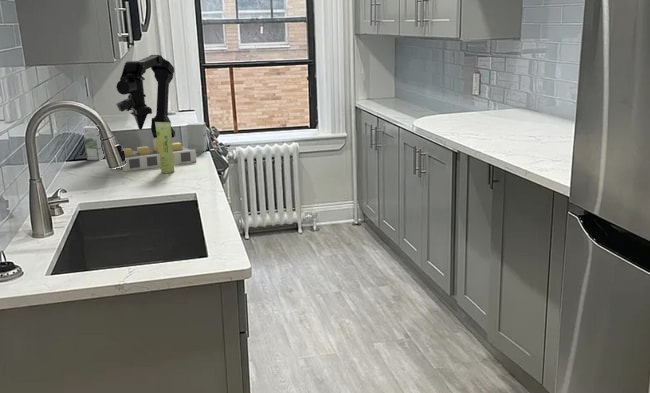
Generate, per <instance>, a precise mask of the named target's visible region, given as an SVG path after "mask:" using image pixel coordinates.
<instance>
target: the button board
mask: <svg viewBox="0 0 650 393" xmlns="http://www.w3.org/2000/svg"><path fill="white" fill-rule="evenodd" d="M149 150H150V154H143V155H139V154H138V152H137V150H132V152H133V156H126V158H129V157H137V156H146V155H154V154H159V153H155V152H154V148H149ZM187 150H190V149H188V147H186V146H183V145H182V150H176V151H173V152H178V151H187ZM120 170H123V167H121V169H120Z"/></svg>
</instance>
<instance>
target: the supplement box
mask: <svg viewBox="0 0 650 393" xmlns="http://www.w3.org/2000/svg"><path fill="white" fill-rule="evenodd" d="M186 137H187V149H190V150H196V153H204V152H206V151H207V150H208V142H207V140H208V139H207V126H206V122H202V121H201V122H200V121H199V122H189V123H188V124H186ZM206 149H207V150H206ZM203 151H204V152H203Z"/></svg>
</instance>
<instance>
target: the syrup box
mask: <svg viewBox="0 0 650 393" xmlns="http://www.w3.org/2000/svg"><path fill="white" fill-rule="evenodd" d="M96 126H97V125H85V126H83V127H82V132H83V141H84V147H85V155H86V161H101V160H104V159H105V158H104V156H105V153H104V154H103V151H102V147H101V140H100V134H99V131H98V129H97V127H96ZM103 158H104V159H103Z"/></svg>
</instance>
